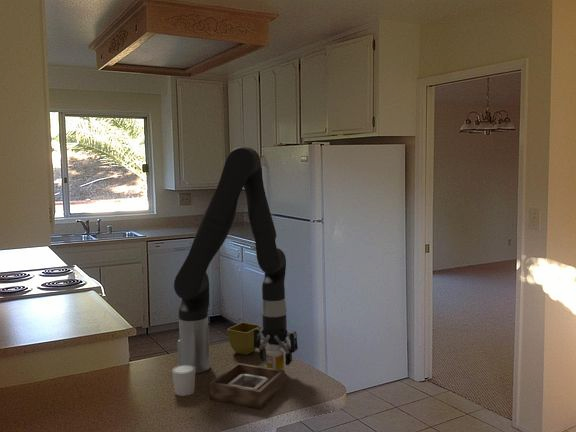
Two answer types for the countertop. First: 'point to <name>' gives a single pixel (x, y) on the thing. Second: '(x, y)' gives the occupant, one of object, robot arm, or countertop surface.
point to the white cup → (184, 379)
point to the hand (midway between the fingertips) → (275, 362)
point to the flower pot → (242, 337)
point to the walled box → (247, 385)
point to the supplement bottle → (275, 357)
